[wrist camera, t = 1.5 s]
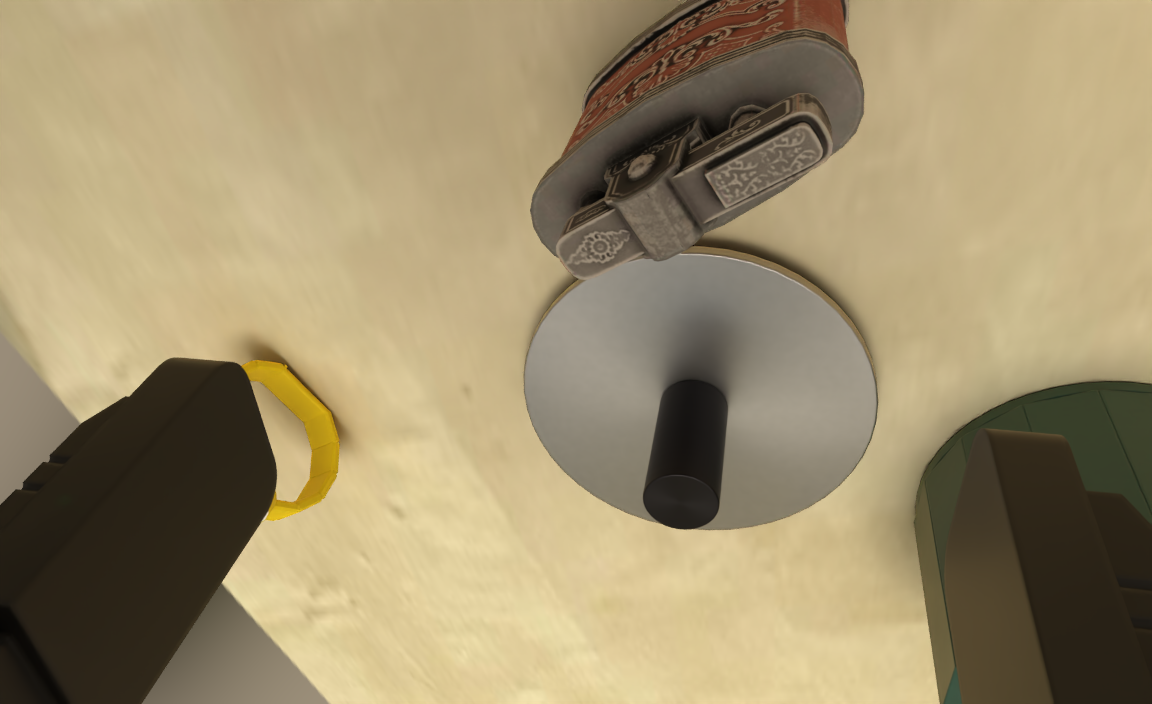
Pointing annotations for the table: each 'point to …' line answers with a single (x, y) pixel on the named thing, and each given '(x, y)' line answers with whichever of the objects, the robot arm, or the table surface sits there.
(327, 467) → the watch
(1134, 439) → the tin
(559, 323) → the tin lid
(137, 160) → the table surface
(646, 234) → the lighter
